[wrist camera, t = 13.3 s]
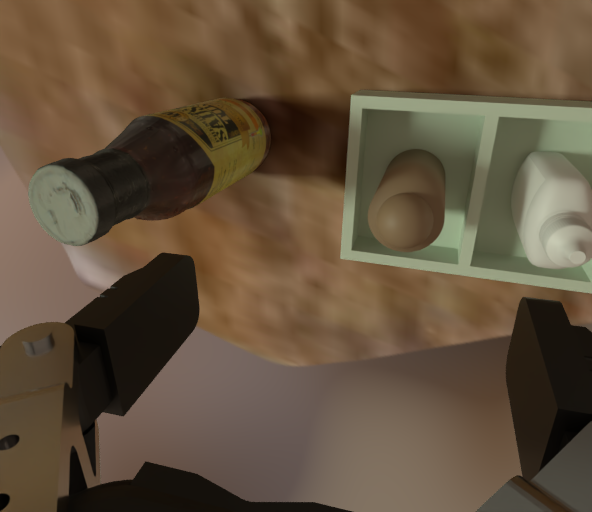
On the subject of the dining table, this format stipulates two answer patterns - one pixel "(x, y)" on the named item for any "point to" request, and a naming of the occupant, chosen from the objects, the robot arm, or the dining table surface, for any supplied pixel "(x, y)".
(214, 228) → the dining table surface
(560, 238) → the eye dropper bottle
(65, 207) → the sauce bottle
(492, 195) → the caddy
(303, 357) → the dining table surface
